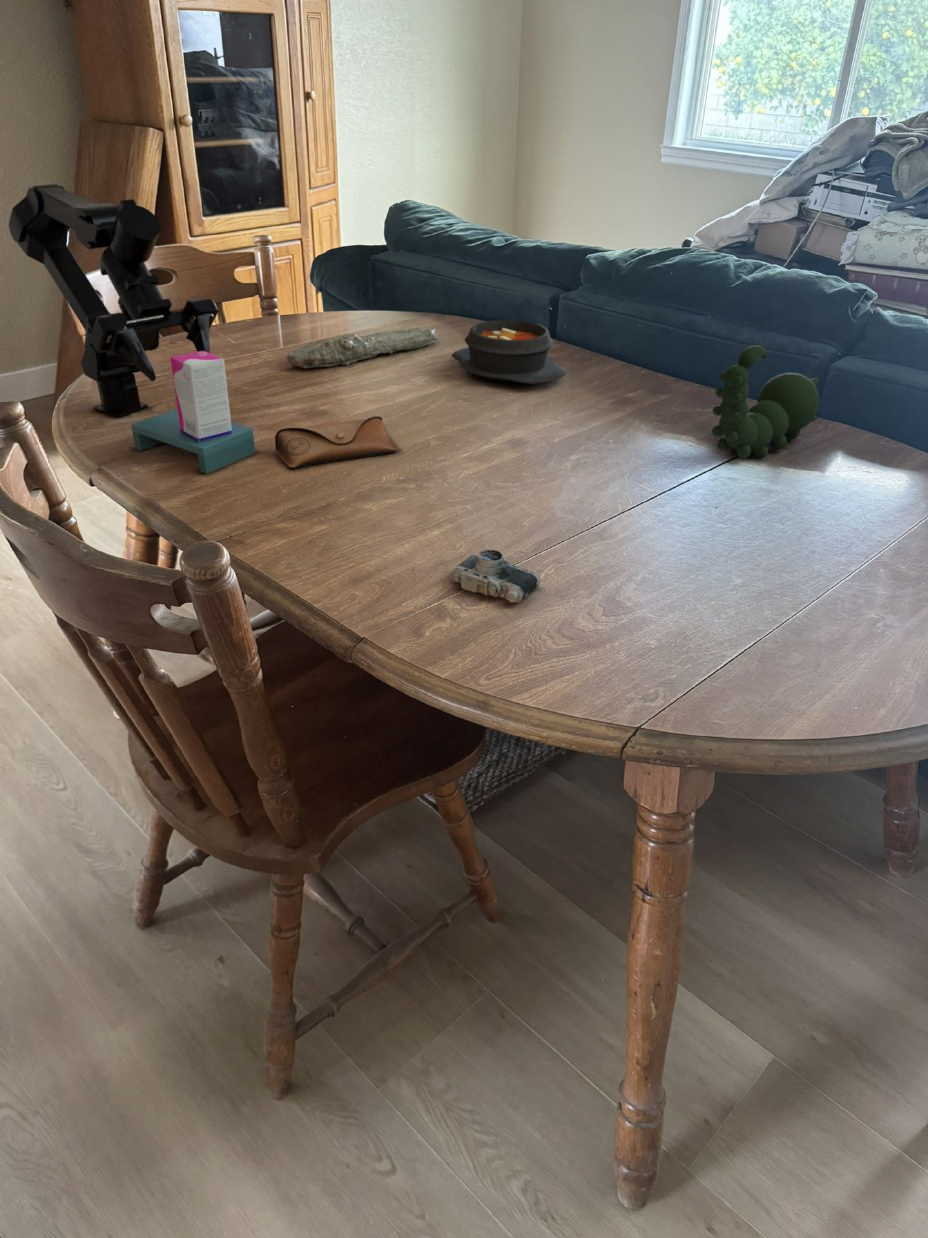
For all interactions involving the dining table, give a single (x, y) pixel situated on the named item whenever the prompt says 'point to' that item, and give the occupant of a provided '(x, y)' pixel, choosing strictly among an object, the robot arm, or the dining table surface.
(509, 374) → the casserole
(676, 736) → the dining table surface
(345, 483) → the dining table surface
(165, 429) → the shelf
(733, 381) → the toy figurine
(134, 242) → the robot arm
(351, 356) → the elongated rock
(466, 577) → the camera
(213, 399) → the supplement box
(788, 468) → the dining table surface
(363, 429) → the sunglasses case
